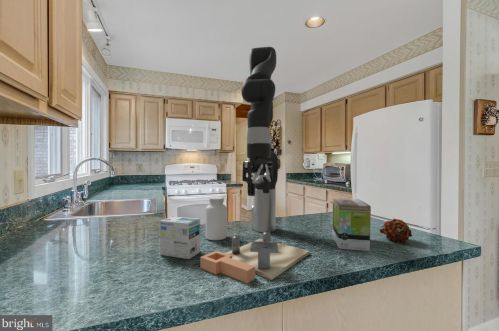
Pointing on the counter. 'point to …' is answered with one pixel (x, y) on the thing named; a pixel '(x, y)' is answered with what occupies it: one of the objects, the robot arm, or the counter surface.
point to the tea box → (351, 224)
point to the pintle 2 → (266, 237)
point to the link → (227, 266)
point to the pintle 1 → (235, 244)
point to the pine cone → (396, 230)
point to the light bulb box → (180, 237)
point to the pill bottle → (216, 219)
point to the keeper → (264, 252)
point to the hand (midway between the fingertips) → (259, 194)
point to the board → (271, 259)
